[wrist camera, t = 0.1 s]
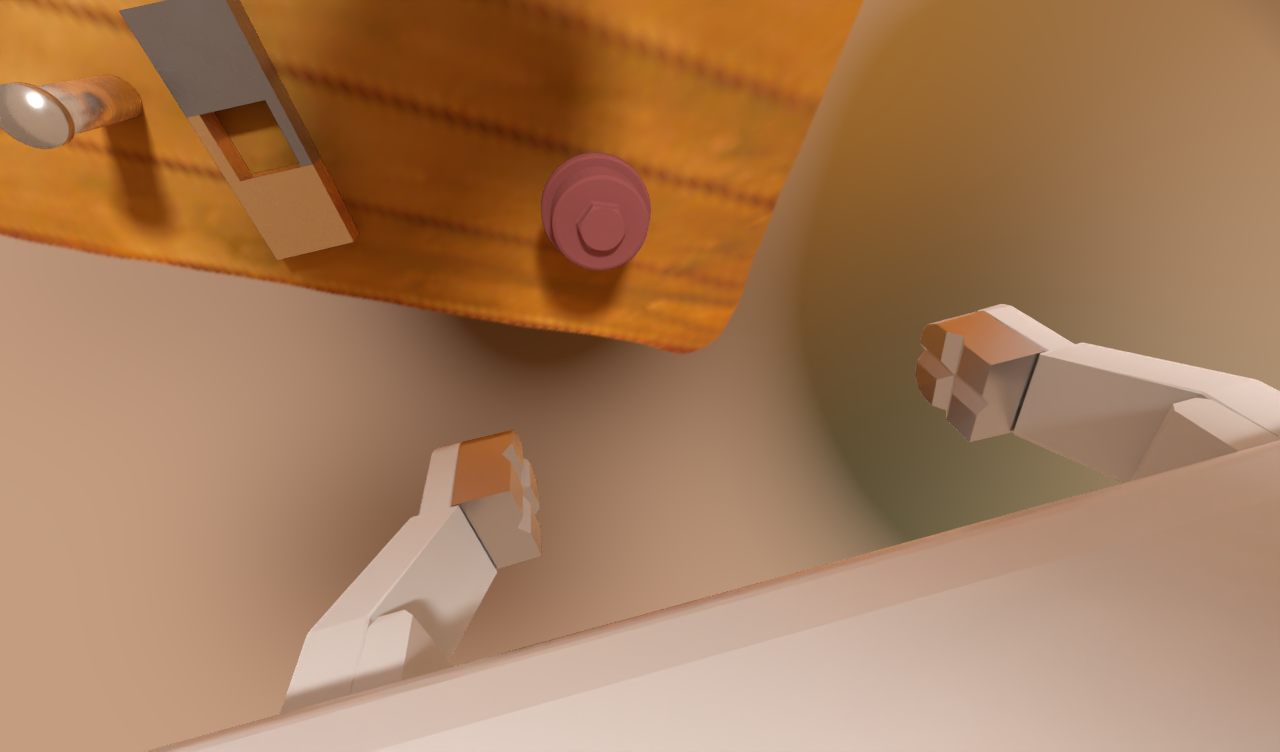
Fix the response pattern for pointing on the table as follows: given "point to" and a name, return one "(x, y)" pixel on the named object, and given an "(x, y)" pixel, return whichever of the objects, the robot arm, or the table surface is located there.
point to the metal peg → (65, 109)
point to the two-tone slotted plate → (233, 76)
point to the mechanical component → (596, 211)
